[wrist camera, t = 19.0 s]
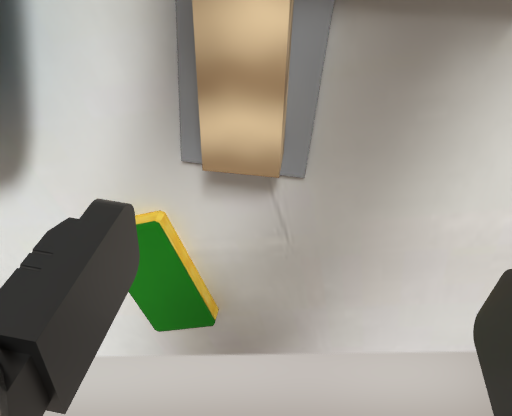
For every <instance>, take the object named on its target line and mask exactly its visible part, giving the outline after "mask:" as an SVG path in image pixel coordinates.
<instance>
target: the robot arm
mask: <svg viewBox="0 0 512 416" xmlns="http://www.w3.org/2000/svg"><path fill="white" fill-rule="evenodd" d="M139 259H140V253H139V244H138V236H137V228H136V220H135V212H134V208H133V206H132V205H131V204H127V203H121V202H115V201H109V200H103V199H96V200H94V201H93V202H92V203H91V204H90V206H89V207H88V208H87V210H86V211H85V212H84V214H83V215H82V216H81V218H80V219H75V218H68V219H66V220H65V221H63V222H61V223H60V224H58V225H57V226H55V227H54V228H52V229H50V230H49V231H47V233H46V234H45V235H44V236H43V237H42V239H41V240H40V241H39V242H38V244H37V245H36V246H35V247H34V248H33V252H32V253H29V254H28V256H27V257H26V258H25V259H24V261H23V262H22V263H21V264H20V268H19V269H18V268H17V269H16V270H15V271H14V273H13V274H12V275H11V276H10V278H9V279H8V280H7V281H6V282H5V284H4V285H3V286H2V287H1V288H0V416H43V414H44V412H45V410H47V411H52V412H57V413H62V414H65V413H66V411H67V410H68V407H69V406H70V404H71V402H72V400H73V398H74V396H75V394H76V392H77V390H78V388H79V386H80V384H81V382H82V380H83V378H84V377H85V375H86V373H87V371H88V369H89V367H90V365H91V363H92V361H93V359H94V357H95V355H96V353H97V351H98V349H99V347H100V346H101V344H102V342H103V340H104V338H105V336H106V334H107V332H108V330H109V328H110V326H111V324H112V322H113V320H114V318H115V316H116V314H117V312H118V311H119V309H120V307H121V305H122V303H123V301H124V299H125V297H126V295H127V293H128V291H129V289H130V287H131V285H132V283H133V281H134V279H135V277H136V274H137V271H138V266H139ZM473 335H474V343H475V347H476V351H477V355H478V358H479V362H480V366H481V369H482V373H483V376H484V380H485V384H486V388H487V391H488V395H489V398H490V402H491V406H492V410H493V413H494V416H512V269H509V270H507V271H505V272H504V273H503V275H502V276H501V278H500V279H499V281H498V282H497V284H496V286H495V287H494V289H493V290H492V292H491V293H490V295H489V297H488V298H487V300H486V301H485V303H484V304H483V306H482V308H481V309H480V311H479V312H478V314H477V316H476V319H475V323H474V331H473Z"/></svg>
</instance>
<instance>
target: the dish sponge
mask: <svg viewBox="0 0 512 416" xmlns="http://www.w3.org/2000/svg"><path fill="white" fill-rule="evenodd" d="M135 220H136V228H137V236H138V244H139V253H140V259H139V266H138V271H137V274H136V277H135V279H134V281H133V283H132V285H131V287H130V289H129V291H128V292H129V293H130V294H131V296H132V297H133V299H134V300H135V302H136V303H137V304H138V306H139V307H140V309H141V310H142V312H143V313H144V315H145V316H146V317H147V319H148V320H149V322H150V323H151V325H152V326H153V328H154V329H155V330H157V331H159V332H160V331H169V330H179V329H188V328H197V327H207V326H213V325H214V324H215V319H216V317H217V313H218V310H219V309H218V307H217V305H216V304H215V302H214V300H213V298H212V296H211V295H210V293H209V291H208V289H207V287H206V286H205V284H204V282H203V280H202V278H201V277H200V275H199V273H198V271H197V269H196V268H195V266H194V264H193V262H192V260H191V259H190V257H189V255H188V253H187V251H186V249H185V248H184V246H183V244H182V242H181V240H180V239H179V237H178V235H177V233H176V231H175V230H174V228H173V226H172V224H171V222H170V221H169V219H168V217H167V215H166V213H165V212H162V211H155V212H150V213H146V214H141V215H136V216H135Z"/></svg>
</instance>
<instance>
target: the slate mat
mask: <svg viewBox="0 0 512 416" xmlns="http://www.w3.org/2000/svg"><path fill="white" fill-rule="evenodd" d="M333 5H334V0H294V6H293V21H292V36H291V51H290V66H289V81H288V96H287V111H286V125H285V140H284V154H283V159H282V164H281V170H280V175H285V176H292V177H299V178H304V177H305V171H306V166H307V160H308V154H309V148H310V142H311V136H312V130H313V124H314V118H315V112H316V106H317V100H318V94H319V88H320V82H321V77H322V71H323V65H324V59H325V53H326V47H327V41H328V35H329V29H330V23H331V17H332V11H333ZM176 22H177V50H178V79H179V108H180V137H181V161H186V162H193V163H200V164H202V152H201V136H200V120H199V104H198V87H197V71H196V55H195V39H194V23H193V7H192V0H176Z"/></svg>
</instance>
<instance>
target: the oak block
mask: <svg viewBox="0 0 512 416" xmlns="http://www.w3.org/2000/svg"><path fill="white" fill-rule="evenodd" d="M293 6H294V0H192V7H193V23H194V39H195V55H196V71H197V87H198V104H199V120H200V136H201V152H202V168H203V170H204V171H214V172H224V173H235V174H245V175H256V176H266V177H276V178H279V175H280V170H281V164H282V159H283V154H284V140H285V125H286V111H287V96H288V81H289V66H290V51H291V36H292V21H293Z"/></svg>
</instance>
